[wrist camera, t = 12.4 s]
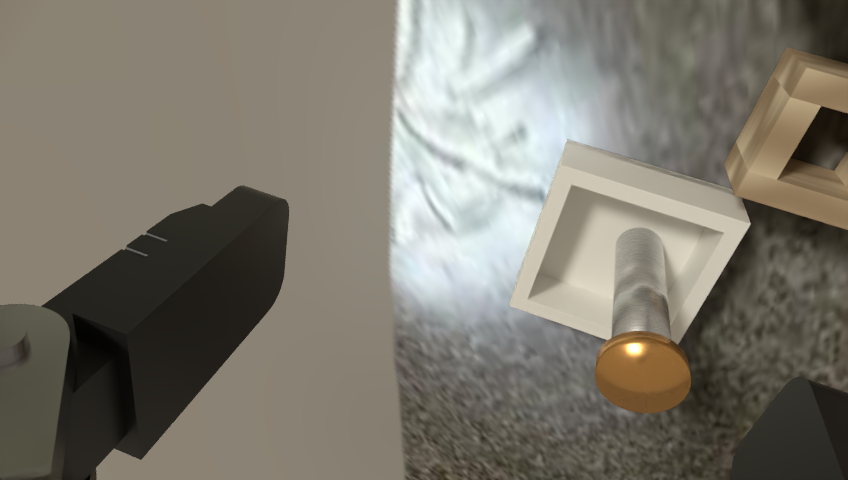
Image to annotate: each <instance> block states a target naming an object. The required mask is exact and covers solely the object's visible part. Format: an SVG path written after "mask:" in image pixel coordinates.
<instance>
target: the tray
mask: <svg viewBox="0 0 848 480" xmlns="http://www.w3.org/2000/svg"><path fill="white" fill-rule="evenodd" d="M750 224H751V223H750V220H749V217H748V215H747V212H746V209H745V206H744V203H743V201H742V198H741V197H739V196H735V195H734V192H733V190H732V189H729V188H726V187H722V186H719V185H716V184H713V183H709V182H706V181H703V180H700V179H696V178H693V177H690V176H686V175H683V174H680V173H677V172H673V171H670V170H667V169H664V168H660V167H657V166H654V165H650V164H647V163H644V162H641V161H637V160H634V159H631V158H628V157H624V156H621V155H618V154H614V153H611V152H608V151H605V150H601V149H598V148H595V147H591V146H588V145H585V144H582V143H578V142H575V141H572V140H569V139H567V141H566V144H565V147H564V149H563V152H562V155H561V158H560V160H559V163H558V166H557V169H556V171H555V174H554V177H553V180H552V182H551V185H550V188H549V191H548V193H547V196H546V199H545V202H544V204H543V207H542V210H541V213H540V215H539V218H538V221H537V224H536V226H535V229H534V232H533V235H532V237H531V240H530V243H529V246H528V248H527V251H526V254H525V257H524V259H523V262H522V265H521V268H520V270H519V273H518V277H517V280H516V284H515V287H514V291H513V294H512V297H511V301H510V304H509V306H512V307H514V308H517V309H520V310H523V311H526V312H529V313H532V314H534V315H537V316H540V317H543V318H546V319H549V320H552V321H554V322H557V323H560V324H563V325H566V326H569V327H572V328H574V329H577V330H580V331H583V332H586V333H589V334H592V335H594V336H597V337H600V338H603V339H606V340H609V339H611V337H612V314H613V291H614V268H615V245H616V241H617V239H618V237H619V236H620V235H621V234H622V233H623V232H625V231H626V230H629V229H632V228H638V227H640V228H647V229H650V230H652V231H654V232H655V233H656V234H658V235H659V237H660V238H661V240H662V243H663V252H664V263H665V274H666V285H667V296H668V307H669V318H670V330H671V340H672V341H674V342H675V343H676V344H677V345H678V344H679V342H680V341H681V339H682V337H683V336H684V334H685V332H686V331H687V329H688V327H689V326H690V324H691V322H692V321H693V319H694V317H695V316H696V314H697V312H698V311H699V309H700V307H701V306H702V304H703V302H704V301H705V299H706V297H707V296H708V294H709V292H710V291H711V289H712V288H713V286H714V284H715V283H716V281H717V279H718V278H719V276H720V274H721V273H722V271H723V269H724V268H725V266H726V264H727V263H728V261H729V259H730V258H731V256H732V254H733V253H734V251H735V249H736V248H737V246H738V244H739V243H740V241H741V239H742V238H743V236H744V234H745V233H746V231H747V229H748V228H749V226H750Z"/></svg>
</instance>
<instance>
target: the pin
mask: <svg viewBox="0 0 848 480" xmlns="http://www.w3.org/2000/svg"><path fill="white" fill-rule="evenodd" d="M595 379H596V383H597V386H598V388H599V390H600V391H601V393H602V394H603V395H604V396H605V397H606V398H607V399H608V400H609V401H610V402H612V403H613V404H615V405H617V406H619V407H621V408H623V409H626V410H629V411H633V412H639V413H656V412H661V411H665V410H668V409H671V408H673V407H675V406H676V405H678V404H679V403H680V402H682V401H683V400H684V399H685V397H686V396H687V394H688V392H689V390H690V387H691V376H690V368H689V362H688V358H687V356H686V354H685V353H684V351H683V350H682V349H681V347H680V346H679V345H677V344H676V343H675V342H674V341H672V340H671V330H670V318H669V307H668V296H667V285H666V274H665V263H664V252H663V243H662V240H661V238H660V237H659V235H658V234H656V233H655V232H654V231H652V230H650V229H647V228H640V227H638V228H632V229H629V230H626V231H625V232H623V233H622V234H621V235H620V236H619V237H618V239H617V241H616V245H615V268H614V291H613V314H612V337H611V339H609V340H608V341H606V342H605V343H604V344H603V345H602V347H601V348H600V350H599V352H598V354H597V358H596V369H595Z"/></svg>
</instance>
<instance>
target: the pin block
mask: <svg viewBox="0 0 848 480" xmlns="http://www.w3.org/2000/svg"><path fill="white" fill-rule="evenodd" d="M821 106H823V107H827V108H831V109H834V110H838V111H841V112H845V113H848V64H847V63H843V62H840V61H836V60H832V59H828V58H825V57H821V56H817V55H814V54H810V53H806V52H802V51H799V50H795V49H791V48H788V47H787V48H786V49H785V51H784V53H783V55H782V57H781V59H780V61H779V63H778V64H777V66H776V68H775V70H774V72H773V74H772V76H771V77H770V79H769V81H768V83H767V85H766V87H765V89H764V90H763V92H762V94H761V96H760V98H759V100H758V102H757V103H756V105H755V107H754V109H753V111H752V113H751V115H750V117H749V118H748V120H747V122H746V124H745V126H744V128H743V130H742V131H741V133H740V135H739V137H738V139H737V141H736V143H735V144H734V146H733V148H732V150H731V152H730V154H729V156H728V157H727V159H726V161H725V163H724V165H725V168H726V171H727V174H728V177H729V180H730V183H731V186H732V189H733V192H734V195H735V196H739V197H742V198H745V199H748V200H752V201H755V202H758V203H761V204H765V205H768V206H771V207H775V208H778V209H781V210H784V211H788V212H791V213H794V214H797V215H801V216H804V217H807V218H810V219H814V220H817V221H820V222H823V223H827V224H830V225H833V226H837V227H840V228H843V229H846V230H848V151H847V152H846V154H845V155H844V157H843V158H842V160H841V162H840V163H839V165H838V166H837V168H836V169H835V171H834V170H830V169H827V168H823V167H820V166H817V165H813V164H810V163H806V162H803V161H800V160H796V159H793V158H790V157H791V156H792V154H793V152H794V151H795V149H796V147H797V146H798V144H799V142H800V141H801V139H802V137H803V136H804V134H805V132H806V131H807V129H808V127H809V126H810V124H811V122H812V121H813V119H814V117H815V116H816V114H817V112H818V111H819V109H820V107H821Z"/></svg>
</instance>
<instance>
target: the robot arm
mask: <svg viewBox="0 0 848 480" xmlns="http://www.w3.org/2000/svg"><path fill="white" fill-rule="evenodd" d="M288 220H289V206H288V203H287V201H286V200H285V199H282V198H278V197H276V196H273V195H270V194H267V193H264V192H261V191H258V190H255V189H252V188H249V187H246V186H239V187H237V188H235V189H234V190H233V191H232V192H230V193H229V194H227V195H226V196H225V197H223V198H222V199H221V200H219V201H218V202H217V203H216V204H214V205H213V206H212V207H211V206H208V205H205V204H200V205H197V206H194V207H191V208H188V209H185V210H182V211H179V212H176V213H173V214H170V215H169V216H167V217H166V218H165V219H163V220H162V221H161V222H159V223H158V224H156V225H155V226H153V227H152V228H150V229H149V230H148V231H147V233H146V235H145V236H144V235H141V236H139V237H138V238H137V239H135V240H134V241H132V242H131V243H129V244H128V245H127V247H126V249H125V250H120V251H118V252H117V253H115V254H114V255H113V256H111V257H110V258H108V259H107V260H106V261H104V262H103V263H101V264H100V265H99V266H97V267H96V268H94V269H93V270H92V271H90V272H89V273H88V274H86V275H85V276H83V277H82V278H80V279H79V280H78V281H76V282H75V283H73V284H72V285H70V286H69V287H68V288H66V289H65V290H63V291H62V292H61V293H59V294H58V295H57V296H55V297H54V298H52V299H51V300H49V301H48V302H47V303H45V304H44V305H42V306H35V305H28V304H8V305H0V480H96V479H97V478H96V467H97V466H98V465H99V464H100V463H101V462H102V460H103V459H104V458H105V457H106V456H107V455H108V454H109V453H110V452H111V451H112V450H113V449H114V448H115V449H117V450H119V451H122V452H124V453H127V454H129V455H131V456H133V457H136V458H138V459H140V460H141V459H142V458H143V457H144V456H145V455H146V454H147V452H148V451H149V450H150V449H151V447H153V445H154V444H155V443H156V442H157V441H158V440H159V438H160V437H161V436H162V435H163V434H164V433H165V431H166V430H167V429H168V428H169V427H170V425H171V424H172V423H173V422H174V421H175V420H176V419H177V417H178V416H179V415H180V414H181V413H182V412H183V410H184V409H185V408H186V407H187V406H188V404H189V403H190V402H191V401H192V400H193V399H194V397H195V396H196V395H197V394H198V393H199V392H200V390H201V389H202V388H203V387H204V385H205V384H206V383H207V382H208V381H209V380H210V379H211V378H212V376H213V375H214V374H215V373H216V372H217V371H218V369H219V368H220V367H221V366H222V365H223V363H224V362H225V361H226V360H227V359H228V358H229V357H230V355H231V354H232V353H233V352H234V351H235V349H236V348H237V347H238V346H239V344H240V343H241V342H242V341H243V340H244V339H245V338H246V337H247V335H248V334H249V333H250V332H251V331H252V330H253V328H254V327H255V326H256V325H257V324H258V323H259V321H260V320H261V319H262V318H263V317H264V316H265V314H266V313H267V312H268V311H269V310H270V308H271V307H272V305H273V304H274V302H275V300H276V298H277V296H278V294H279V292H280V289H281V286H282V282H283V278H284V270H285V256H286V245H287V232H288ZM731 480H848V393H846V392H843V391H840V390H837V389H834V388H831V387H829V386H826V385H823V384H820V383H817V382H814V381H811V380H808V379H805V378H802V377H797V378H794V379H792V380H790V381H789V382H788V383H787V384H786V385H785V386H784V387H783V389H782V390H781V391H780V392H779V394H778V395H777V396H776V398H775V399H774V400H773V401H772V403H771V404H770V405H769V407H768V408H767V409H766V410H765V412H764V413H763V414H762V415H761V417H760V418H759V419H758V421H757V422H756V423H755V424H754V426H753V427H752V428H751V430H750V431H749V432H748V433H747V435H746V436H745V437H744V438H743V440H742V441H741V443H740V444H739V446H738V448H737V451H736V453H735V456H734V460H733V464H732V471H731Z"/></svg>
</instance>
